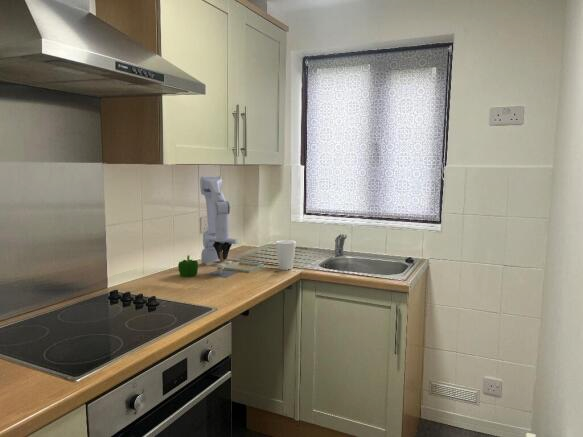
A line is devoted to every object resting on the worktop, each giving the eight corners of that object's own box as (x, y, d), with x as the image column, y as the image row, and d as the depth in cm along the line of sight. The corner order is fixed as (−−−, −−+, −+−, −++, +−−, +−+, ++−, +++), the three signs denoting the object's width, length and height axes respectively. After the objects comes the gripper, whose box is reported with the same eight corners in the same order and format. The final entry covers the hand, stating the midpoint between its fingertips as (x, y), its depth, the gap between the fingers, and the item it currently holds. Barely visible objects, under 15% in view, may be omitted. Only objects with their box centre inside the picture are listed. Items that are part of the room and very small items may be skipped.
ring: (206, 266, 196) (206, 254, 195) (217, 262, 203) (216, 250, 202) (222, 267, 192) (221, 255, 192) (232, 263, 200) (231, 252, 199)
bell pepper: (193, 281, 191) (193, 258, 190) (176, 280, 193) (175, 257, 192) (201, 276, 199) (200, 254, 198) (184, 275, 201) (183, 254, 200)
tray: (223, 272, 206) (223, 267, 206) (239, 266, 219) (239, 261, 218) (249, 275, 201) (249, 270, 200) (263, 269, 213) (263, 263, 213)
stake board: (204, 278, 196) (204, 268, 195) (218, 273, 206) (218, 263, 205) (226, 281, 191) (225, 271, 191) (239, 275, 201) (239, 265, 200)
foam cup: (287, 271, 207) (287, 244, 206) (272, 269, 213) (271, 242, 211) (299, 268, 215) (299, 241, 213) (284, 265, 220) (284, 239, 219)
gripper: (203, 229, 198) (204, 259, 199) (231, 231, 192) (231, 262, 193) (212, 227, 204) (213, 256, 206) (239, 228, 198) (240, 258, 200)
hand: (222, 258), depth 200 cm, fingers closed on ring
